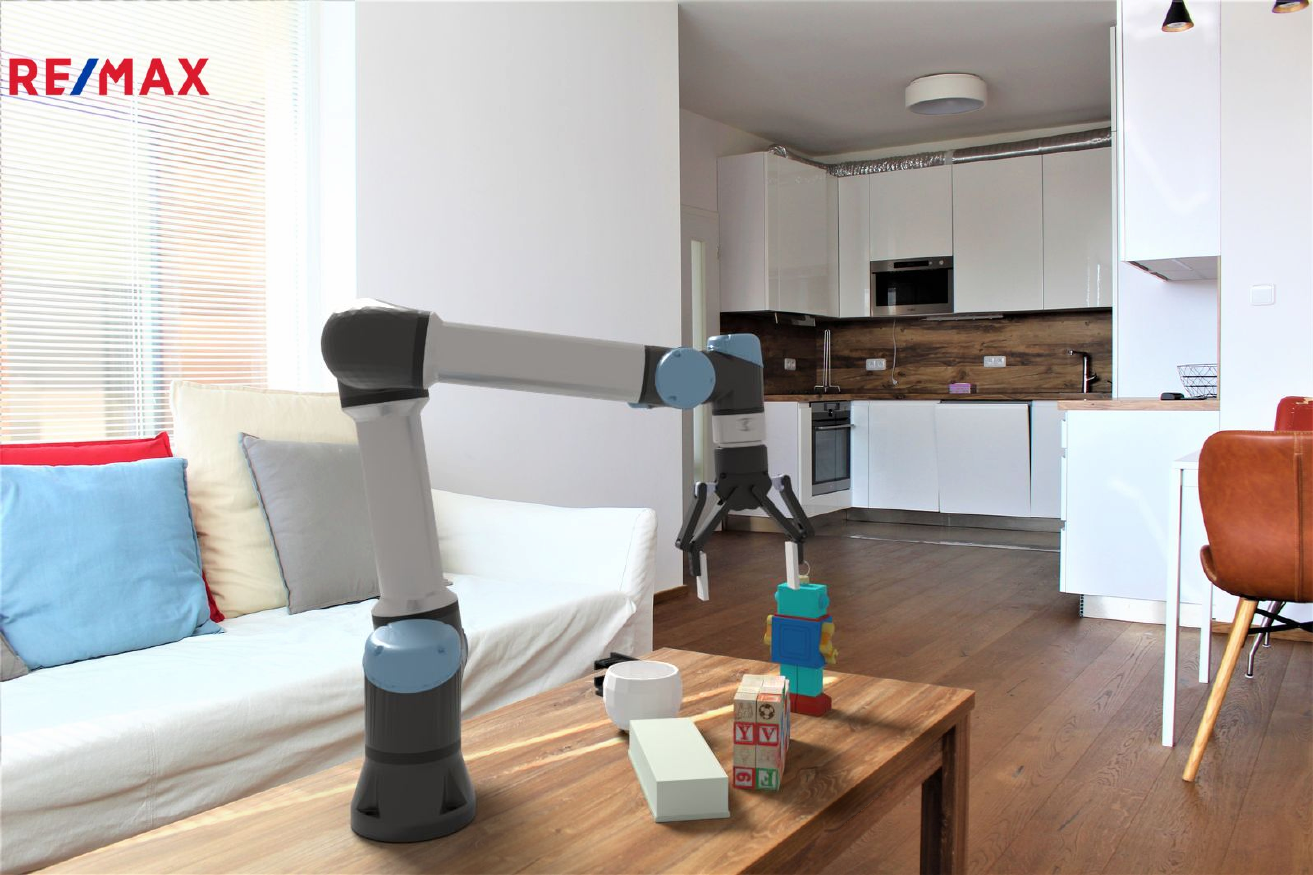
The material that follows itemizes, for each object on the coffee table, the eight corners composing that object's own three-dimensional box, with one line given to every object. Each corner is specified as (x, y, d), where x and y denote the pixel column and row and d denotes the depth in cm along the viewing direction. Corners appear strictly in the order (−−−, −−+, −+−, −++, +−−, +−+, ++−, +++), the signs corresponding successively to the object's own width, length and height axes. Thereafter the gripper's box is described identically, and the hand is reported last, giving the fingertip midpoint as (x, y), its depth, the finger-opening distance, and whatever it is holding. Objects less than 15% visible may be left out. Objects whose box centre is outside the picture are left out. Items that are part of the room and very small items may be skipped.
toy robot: (841, 710, 172) (842, 560, 171) (826, 719, 167) (828, 566, 166) (778, 698, 178) (779, 554, 177) (762, 707, 173) (763, 559, 172)
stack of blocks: (749, 736, 159) (750, 657, 158) (790, 739, 158) (791, 659, 157) (732, 788, 138) (732, 697, 137) (779, 792, 137) (780, 700, 136)
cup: (662, 714, 169) (663, 656, 169) (695, 738, 158) (695, 675, 157) (592, 724, 164) (592, 664, 164) (620, 748, 153) (620, 684, 152)
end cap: (660, 698, 178) (660, 660, 178) (629, 707, 174) (629, 667, 173) (623, 686, 186) (623, 649, 185) (592, 693, 181) (592, 655, 181)
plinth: (655, 822, 127) (655, 782, 126) (627, 753, 151) (627, 719, 150) (729, 817, 128) (730, 777, 128) (690, 750, 152) (691, 716, 152)
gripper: (661, 452, 138) (671, 608, 140) (832, 438, 145) (841, 588, 146) (647, 449, 146) (657, 598, 147) (811, 436, 152) (819, 579, 153)
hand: (749, 593), depth 146 cm, fingers open, 13 cm apart
